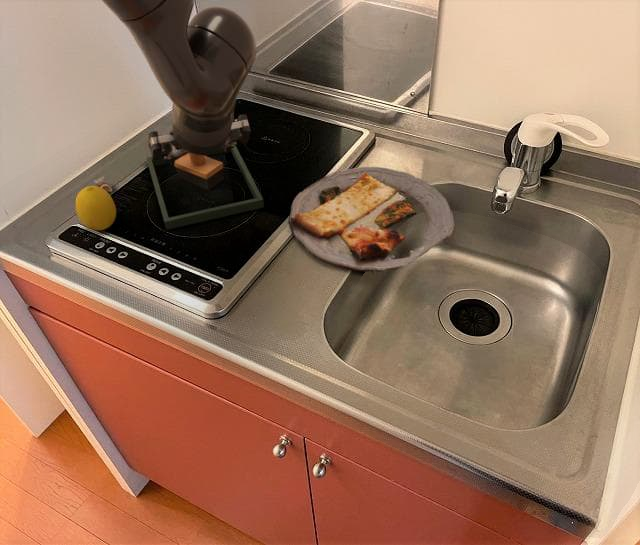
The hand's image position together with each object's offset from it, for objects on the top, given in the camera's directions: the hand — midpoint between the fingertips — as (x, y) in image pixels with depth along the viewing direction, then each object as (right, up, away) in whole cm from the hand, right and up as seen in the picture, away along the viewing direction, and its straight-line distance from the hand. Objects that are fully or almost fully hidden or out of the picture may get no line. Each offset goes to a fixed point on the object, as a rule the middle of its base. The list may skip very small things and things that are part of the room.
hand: (198, 152), depth 88 cm
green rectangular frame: (-1, -5, +8) cm, 10 cm away
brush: (-1, -3, +9) cm, 10 cm away
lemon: (-15, -12, +1) cm, 19 cm away
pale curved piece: (-17, -6, +7) cm, 20 cm away
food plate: (+26, -11, +1) cm, 29 cm away
